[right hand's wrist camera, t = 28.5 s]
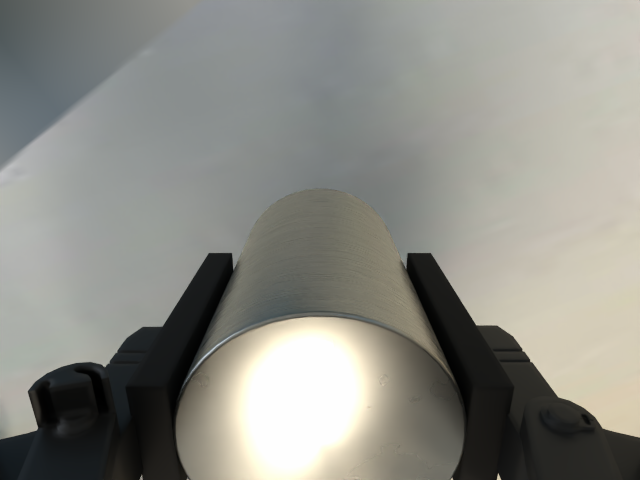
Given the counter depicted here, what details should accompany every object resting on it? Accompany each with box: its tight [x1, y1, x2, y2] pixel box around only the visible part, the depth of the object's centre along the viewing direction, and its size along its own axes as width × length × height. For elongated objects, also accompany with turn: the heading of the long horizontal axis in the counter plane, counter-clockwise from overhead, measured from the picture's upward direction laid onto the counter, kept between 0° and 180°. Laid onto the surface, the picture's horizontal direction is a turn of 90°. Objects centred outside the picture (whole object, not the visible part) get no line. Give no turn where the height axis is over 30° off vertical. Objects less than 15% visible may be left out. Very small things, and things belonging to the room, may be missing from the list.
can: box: [173, 189, 467, 480], centre depth 13 cm, size 6×6×9 cm
